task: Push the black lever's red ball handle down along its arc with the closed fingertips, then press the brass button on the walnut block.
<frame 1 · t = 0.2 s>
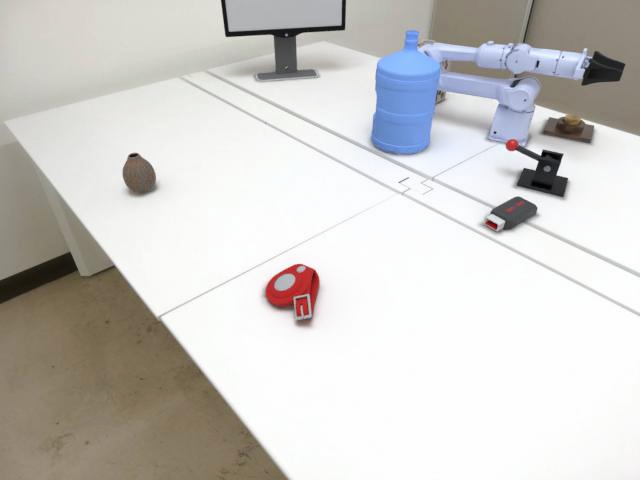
hand: (622, 72, 104), 21 cm above the table, tool horizontal, fingers open, 7 cm apart
lever: (530, 154, 104), point 7 cm above the table, hinge at 15.0°
bracket: (541, 183, 107), on the table
water jug: (399, 142, 124), on the table
button: (572, 120, 126), point 3 cm above the table, slide at 0.1 cm
vase: (143, 189, 105), on the table
computer monitor: (287, 76, 165), on the table
tracker holder: (293, 300, 78), on the table
button block: (567, 131, 128), on the table
usb drive: (507, 219, 96), on the table
decorative jar: (420, 100, 147), on the table
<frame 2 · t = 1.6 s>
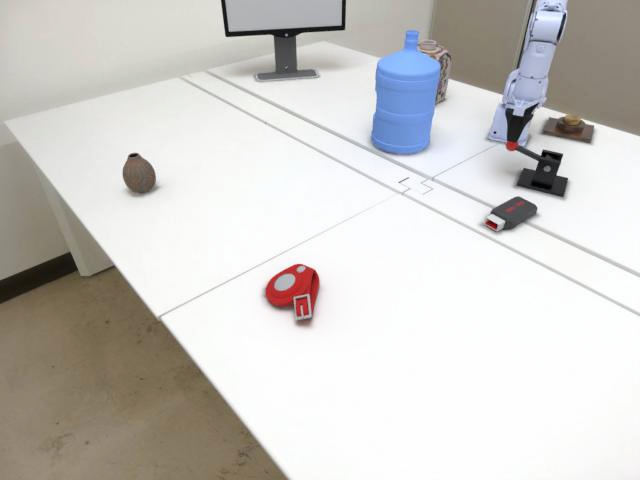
hand: (515, 134, 103), 10 cm above the table, tool pointing down, fingers open, 7 cm apart
nothing on the table moved.
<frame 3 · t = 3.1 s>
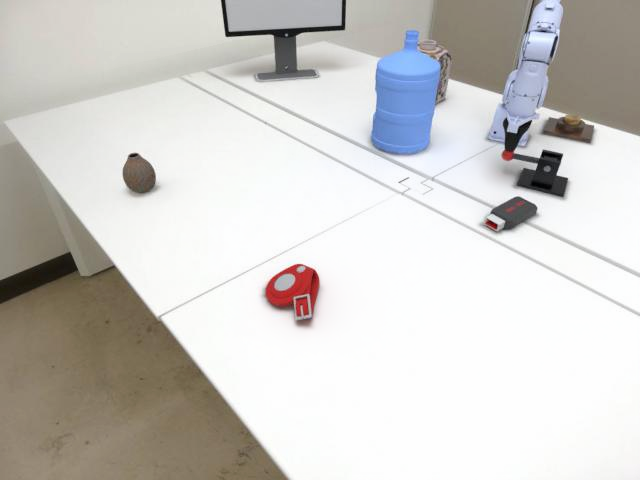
hand: (509, 149, 106), 7 cm above the table, tool pointing down, fingers closed, pressing on lever
lever: (528, 158, 105), point 5 cm above the table, hinge at -1.6°, touching gripper
everything else where it was.
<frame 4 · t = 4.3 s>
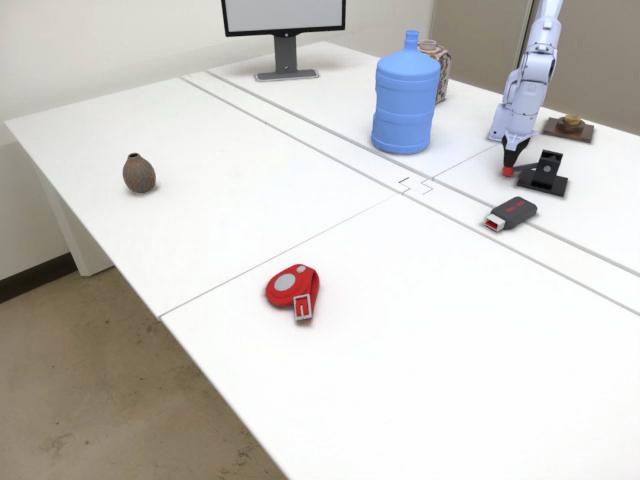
hand: (508, 165, 108), 3 cm above the table, tool pointing down, fingers closed, pressing on lever
lever: (528, 166, 106), point 3 cm above the table, hinge at -27.4°, touching gripper
everything else where it was.
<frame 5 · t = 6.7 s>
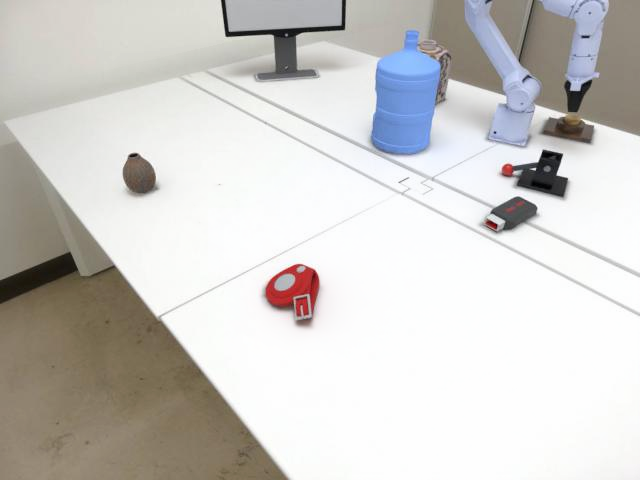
hand: (572, 111, 113), 11 cm above the table, tool pointing down, fingers closed
lever: (527, 166, 106), point 4 cm above the table, hinge at -25.7°
everything else where it was.
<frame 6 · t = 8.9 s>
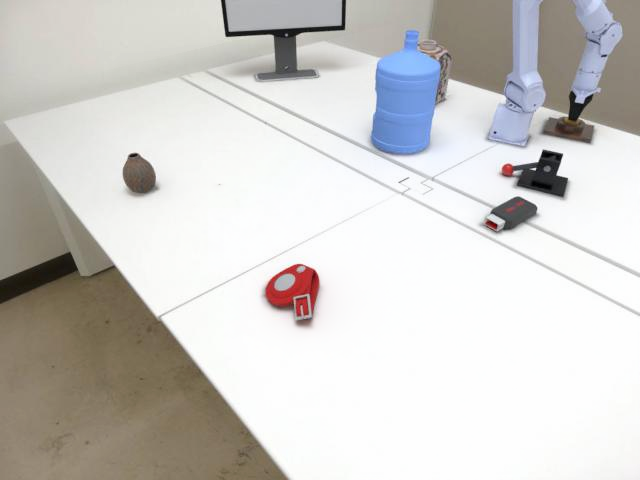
hand: (572, 119, 126), 4 cm above the table, tool pointing down, fingers closed, pressing on button
button: (571, 122, 126), point 3 cm above the table, slide at -0.6 cm, touching gripper
everything else where it was.
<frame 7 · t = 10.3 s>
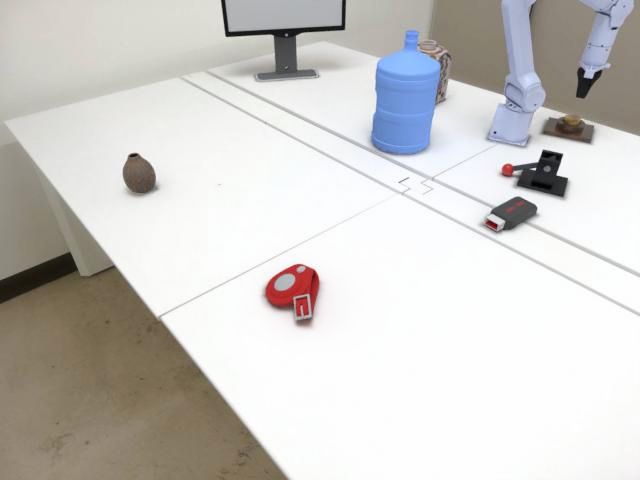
hand: (580, 97, 122), 10 cm above the table, tool pointing down, fingers closed
button: (572, 120, 126), point 3 cm above the table, slide at 0.1 cm
everything else where it was.
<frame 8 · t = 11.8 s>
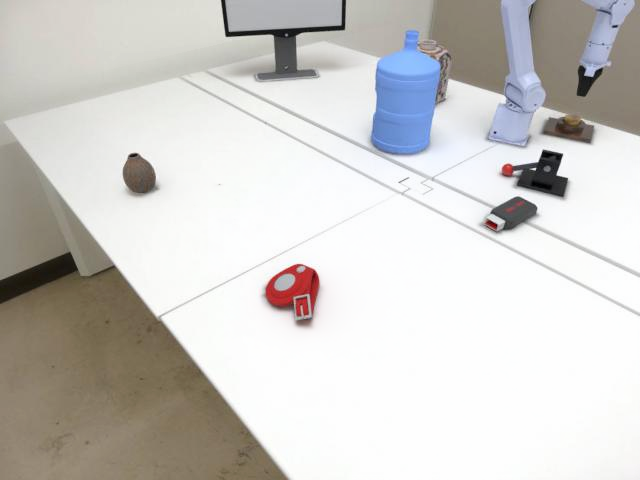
hand: (580, 95, 122), 10 cm above the table, tool pointing down, fingers closed
nothing on the table moved.
at the end: lever at -26° (first picture: +15°); button pushed in 1.2 cm at the most during the clip, back to where it started at the end; button slide at 0.1 cm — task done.
